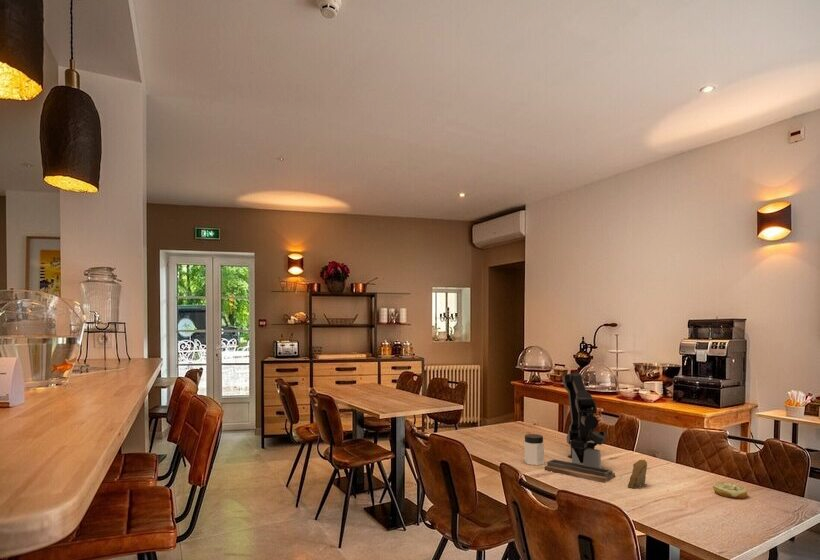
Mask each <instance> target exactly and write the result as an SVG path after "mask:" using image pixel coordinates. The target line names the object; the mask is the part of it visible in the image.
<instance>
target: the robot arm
mask: <svg viewBox="0 0 820 560" xmlns="http://www.w3.org/2000/svg"><path fill="white" fill-rule="evenodd" d="M562 384H563V386H564V389H565V391H566V392H567V393H568V402H569V412H570V422H571V423H570V424H569V428H568V432H567V436H566V443H567V444H568V445H570V454H569V455H567V457H568V458H572V448H573V449H574V451H575V453H576V455H577V457H578V459H579V461H580V463H583V460H584V451H585V450H586V449H587V448H591V449H595V448H596V447H597V446H598V445H599V446H601V445H604V444H605V441H606V440H607V434H606V432H605V431H603V430H601V431H600V432H599V431H595V429H596V428H597V427H598V426H599V420H598V418H596V416H594V414H597V411H598V407H597V404H596V401H595V399H594V398H593V396H592V395H591V393H590V392H588V391H587V389H586V386H585V384H584V381H583V376H582V374H581V373H579V372H577V373H576V372H572V373H569V374H568V373H565V374H564V375H563V376H562Z"/></svg>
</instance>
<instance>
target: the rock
mask: <svg viewBox="0 0 820 560" xmlns="http://www.w3.org/2000/svg"><path fill="white" fill-rule="evenodd" d="M632 467H633V469H632V474H630V477H629V482H628V484H627V487H628V488H631V489H636V488H638V487H640V485H641V486H642V485H645V484H646V478H647V477H646V476H647V475H646V474H647V469H648V462H647V461H646V460H645V459H639V460H638V461H635V462H634V463H633V464H632Z"/></svg>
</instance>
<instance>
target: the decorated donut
mask: <svg viewBox="0 0 820 560" xmlns="http://www.w3.org/2000/svg"><path fill="white" fill-rule="evenodd" d="M712 488H713V490H714V492H715V493H716V494H717V495H719V496H721V497H724V498H729V499H730V498H732V499H736V500H737V499H741V500H742V499H746V498H747V496H748V494H747V493H748V489H747V488H746V487H744V486H743V485H741V484H737V483H734V482H730V481H717V482H715V483H712Z"/></svg>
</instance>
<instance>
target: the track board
mask: <svg viewBox="0 0 820 560" xmlns="http://www.w3.org/2000/svg"><path fill="white" fill-rule="evenodd" d="M546 470H549V471H548V472H551V471H552V473H556V474H560V475H565V476H566V475H567V476H570V475H571V477H576V478H580V479H584V480H590V481H594V482H599V483H603V482H604V483H606V482H609V481H610V480H612V479H614V478H616V472H613V470H611V469H607V468H602V467H601V468H597V467H592V466H586V465H581V464H576V463H572V461H571V462H570V461H565V460H560V459H554V458H553V459H551V460H549V461H546V465H545V466H544V471H546ZM613 477H614V478H613Z"/></svg>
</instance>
